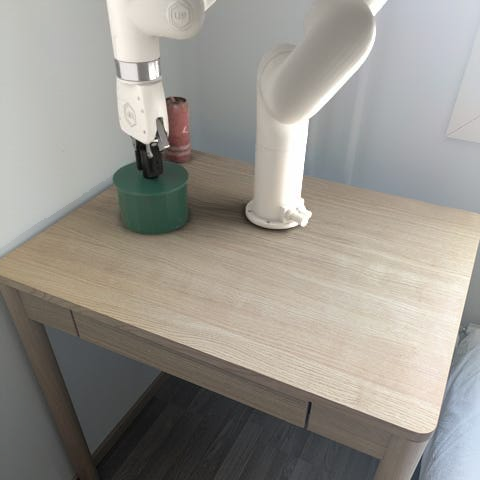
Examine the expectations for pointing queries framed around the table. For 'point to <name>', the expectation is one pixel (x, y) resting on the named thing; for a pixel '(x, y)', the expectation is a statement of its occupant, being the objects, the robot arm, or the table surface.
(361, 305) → the table surface
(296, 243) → the table surface
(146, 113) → the robot arm
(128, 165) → the lid
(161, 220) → the pot
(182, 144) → the can
